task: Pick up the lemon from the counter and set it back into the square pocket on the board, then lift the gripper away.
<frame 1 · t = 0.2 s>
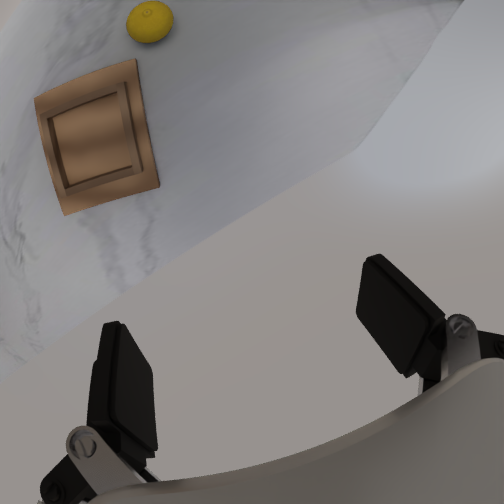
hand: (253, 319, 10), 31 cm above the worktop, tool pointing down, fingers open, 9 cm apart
board: (94, 138, 30), on the worktop
lemon: (152, 30, 25), on the worktop
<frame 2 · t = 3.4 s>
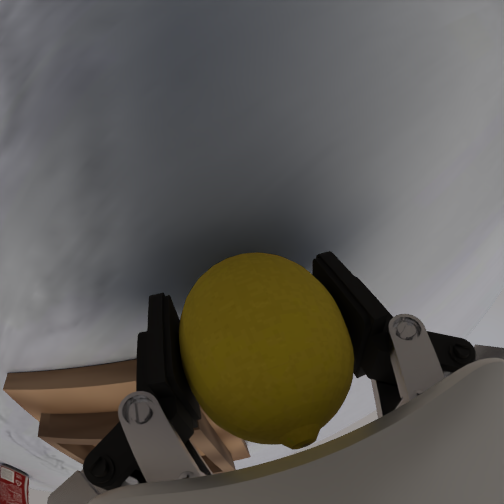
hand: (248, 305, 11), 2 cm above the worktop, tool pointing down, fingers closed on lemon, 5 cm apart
board: (143, 428, 18), on the worktop
soda can: (14, 468, 23), on the worktop
lemon: (236, 273, 13), on the worktop, touching gripper
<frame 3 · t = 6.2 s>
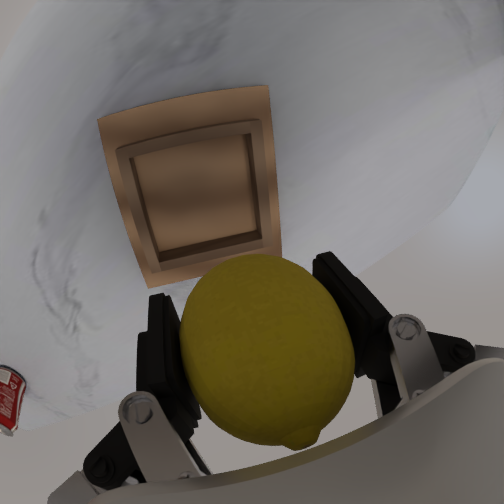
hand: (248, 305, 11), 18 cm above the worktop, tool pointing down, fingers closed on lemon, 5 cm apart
board: (197, 188, 26), on the worktop
soda can: (12, 375, 31), on the worktop
lemon: (236, 274, 13), point 16 cm above the worktop, touching gripper
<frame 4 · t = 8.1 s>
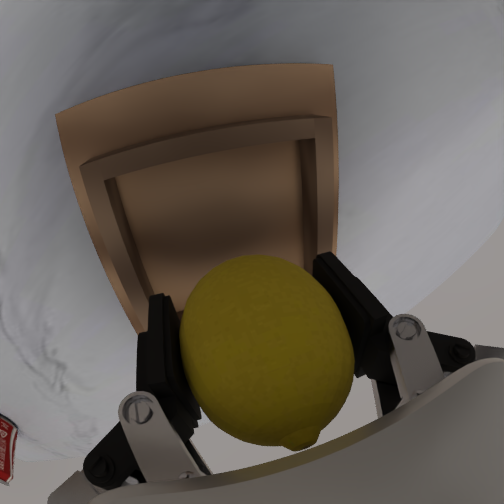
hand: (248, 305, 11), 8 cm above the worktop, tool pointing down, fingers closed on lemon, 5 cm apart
board: (218, 221, 17), on the worktop
soda can: (1, 418, 23), on the worktop
lemon: (236, 274, 13), point 6 cm above the worktop, touching gripper
when the fingers open (5 cm above the worktop, at t = 9.1 s): lemon drops 1 cm, resting on board.
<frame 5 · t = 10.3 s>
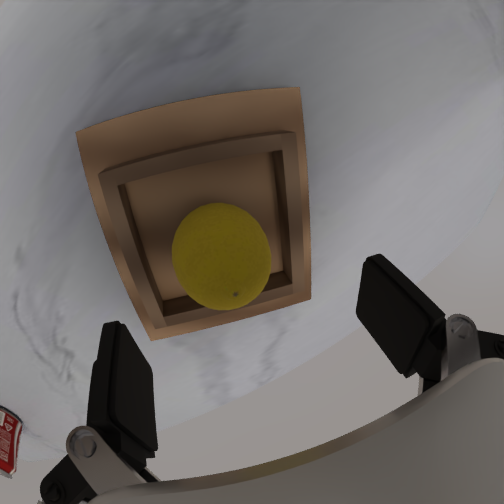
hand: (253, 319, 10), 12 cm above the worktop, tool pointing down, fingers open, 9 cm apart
board: (208, 221, 21), on the worktop
soda can: (6, 413, 25), on the worktop
lemon: (210, 225, 19), point 1 cm above the worktop, touching board
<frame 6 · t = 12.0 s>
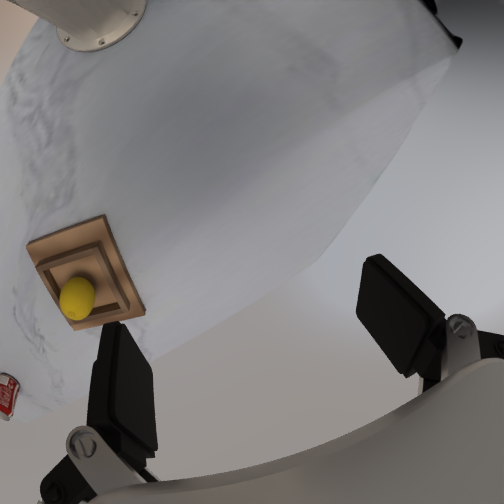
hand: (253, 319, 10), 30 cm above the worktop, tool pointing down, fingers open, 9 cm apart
board: (86, 277, 38), on the worktop
soda can: (10, 379, 45), on the worktop
lemon: (83, 281, 37), point 1 cm above the worktop, touching board
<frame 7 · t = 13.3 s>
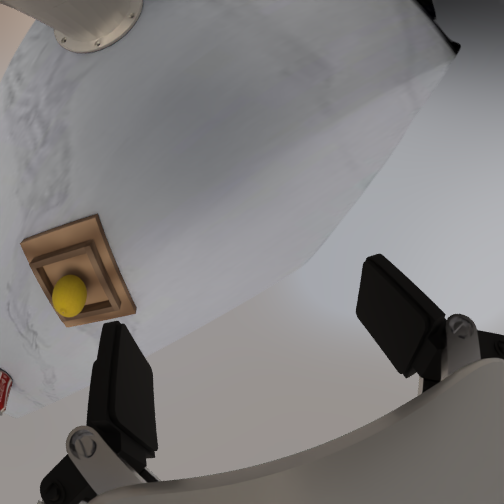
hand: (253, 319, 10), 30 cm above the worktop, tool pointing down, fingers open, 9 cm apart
board: (78, 275, 39), on the worktop
soda can: (3, 374, 44), on the worktop
lemon: (76, 279, 37), point 1 cm above the worktop, touching board
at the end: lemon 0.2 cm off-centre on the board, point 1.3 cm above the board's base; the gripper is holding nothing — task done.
